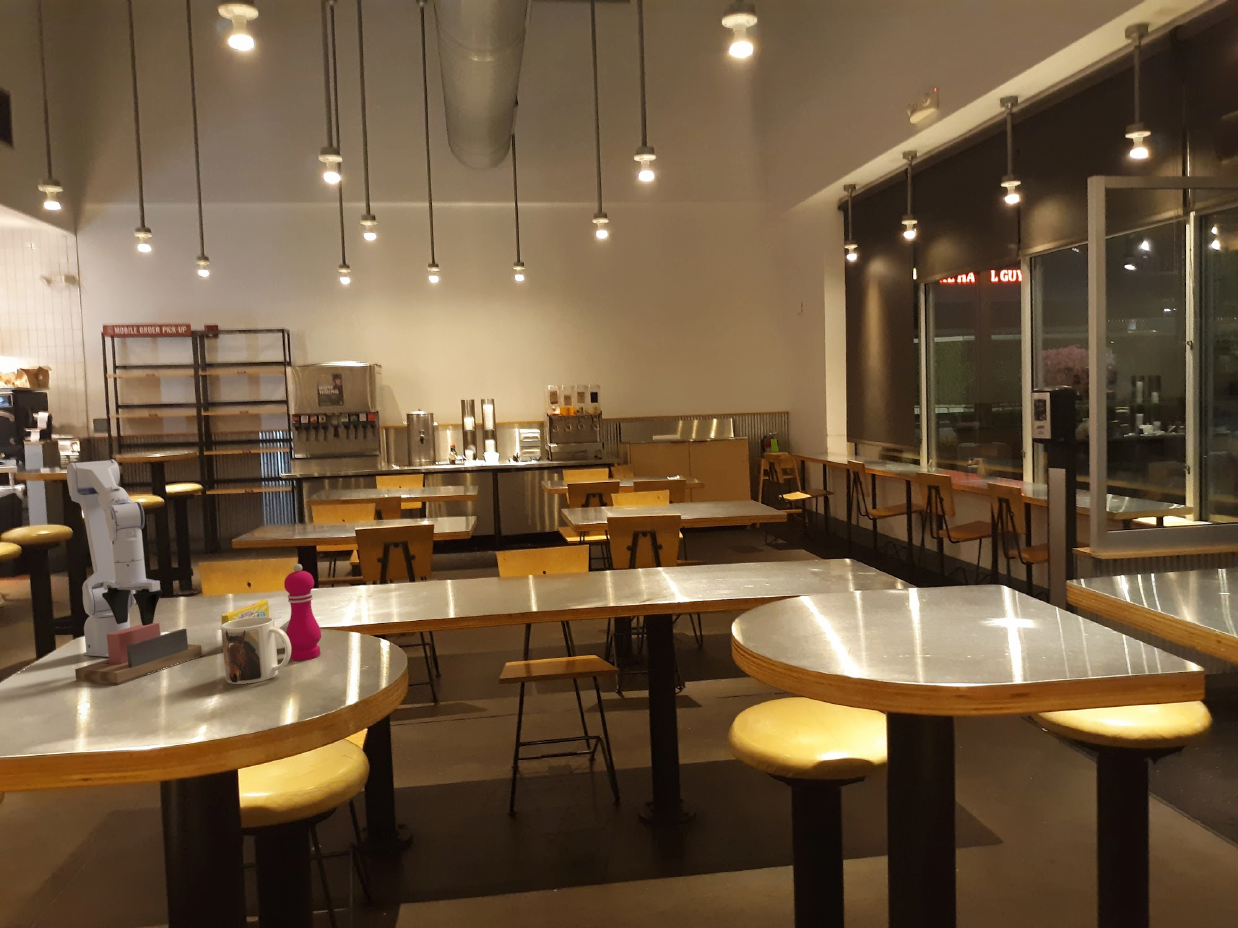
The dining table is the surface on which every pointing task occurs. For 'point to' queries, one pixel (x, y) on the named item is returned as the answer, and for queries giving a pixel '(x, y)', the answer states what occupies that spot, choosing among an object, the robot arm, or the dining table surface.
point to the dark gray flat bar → (157, 647)
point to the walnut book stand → (123, 673)
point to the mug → (252, 649)
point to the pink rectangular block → (128, 640)
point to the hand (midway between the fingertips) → (134, 623)
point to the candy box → (247, 612)
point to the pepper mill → (302, 616)
